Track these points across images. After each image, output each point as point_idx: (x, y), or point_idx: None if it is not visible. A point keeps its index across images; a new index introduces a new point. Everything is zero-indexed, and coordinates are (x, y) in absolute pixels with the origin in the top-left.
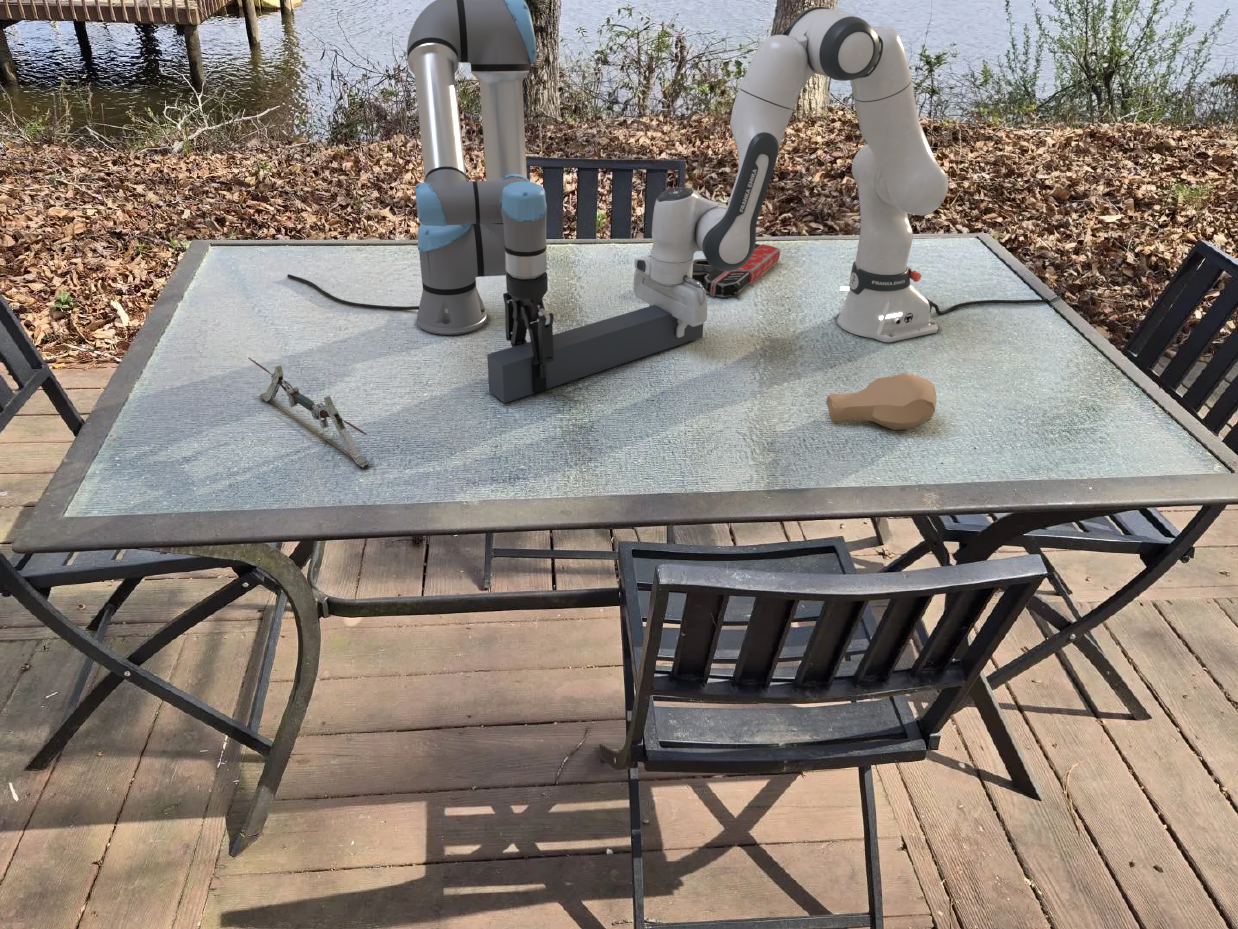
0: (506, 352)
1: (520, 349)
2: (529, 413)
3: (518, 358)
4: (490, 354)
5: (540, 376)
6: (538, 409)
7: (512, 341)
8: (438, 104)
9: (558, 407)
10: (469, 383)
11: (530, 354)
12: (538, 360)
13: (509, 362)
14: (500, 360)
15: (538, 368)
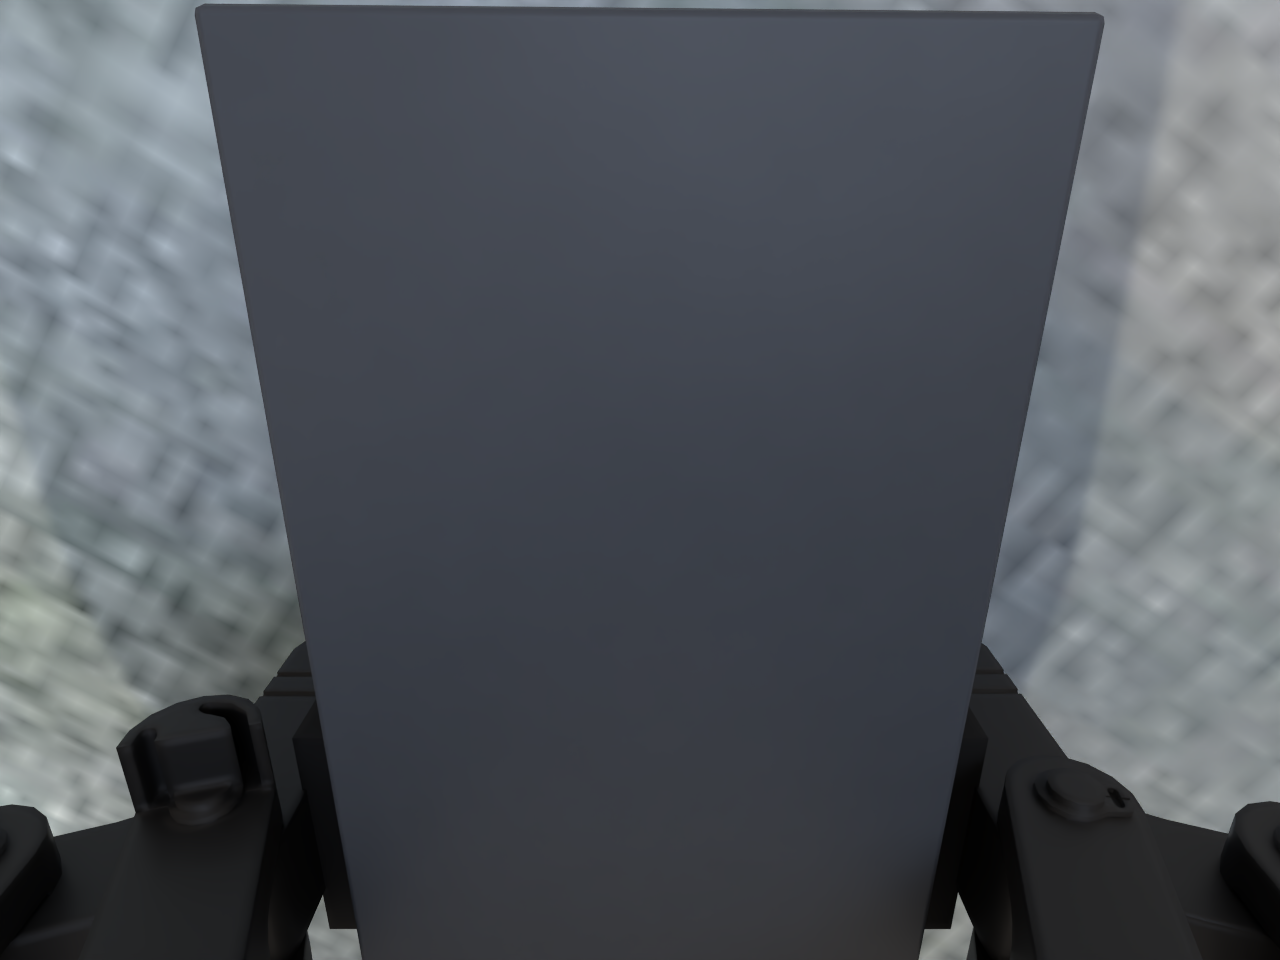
0: (824, 521)
1: (747, 807)
2: (167, 246)
3: (392, 582)
4: (1021, 102)
5: (297, 651)
6: (208, 372)
7: (1109, 855)
8: None
9: (164, 546)
10: (1190, 33)
11: (438, 844)
12: (135, 835)
13: (300, 297)
14: (522, 145)
15: (302, 720)
